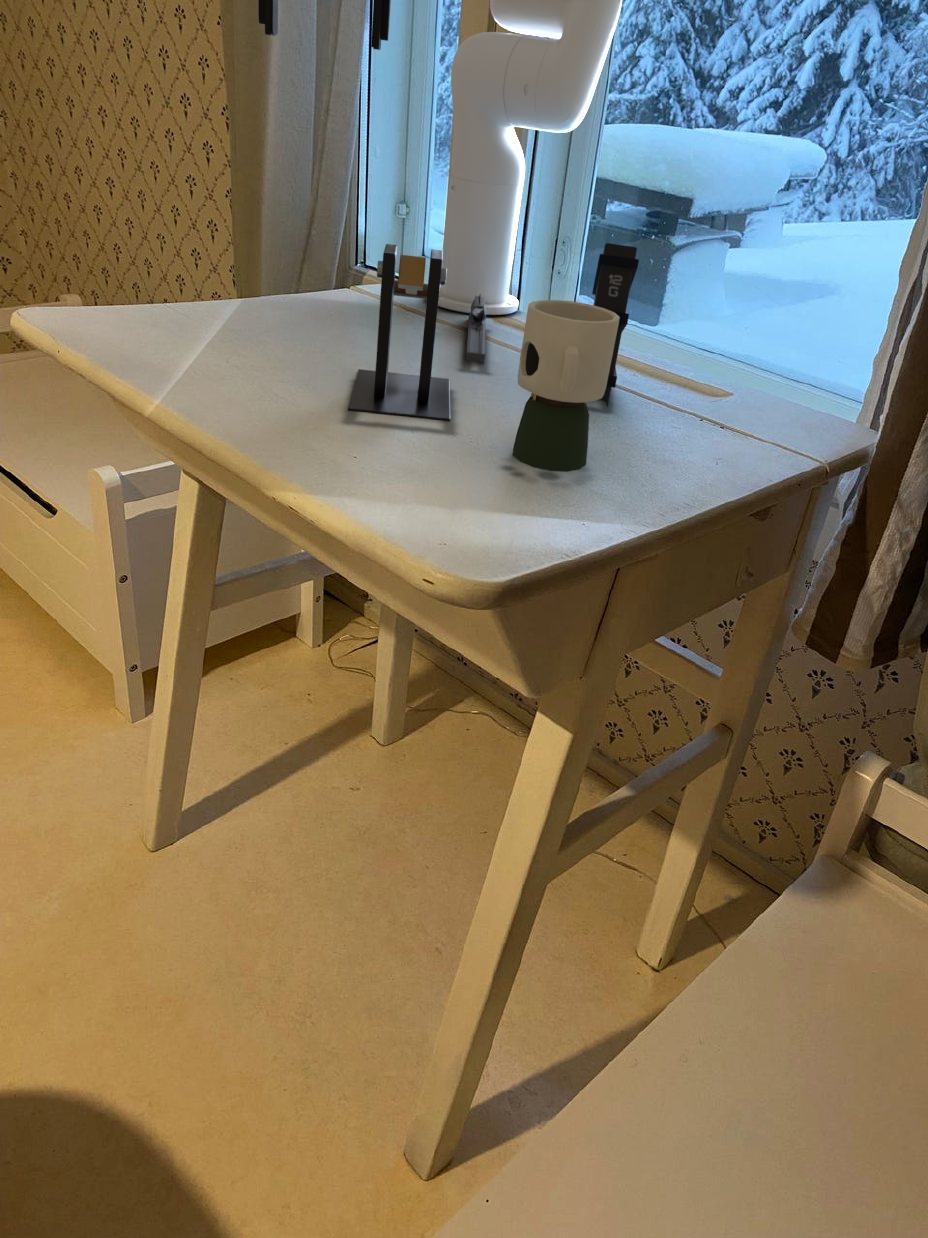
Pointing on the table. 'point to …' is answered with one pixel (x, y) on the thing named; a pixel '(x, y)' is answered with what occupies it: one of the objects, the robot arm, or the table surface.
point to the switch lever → (411, 278)
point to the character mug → (562, 380)
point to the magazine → (615, 293)
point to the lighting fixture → (476, 332)
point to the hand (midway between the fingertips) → (323, 41)
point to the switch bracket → (381, 386)
